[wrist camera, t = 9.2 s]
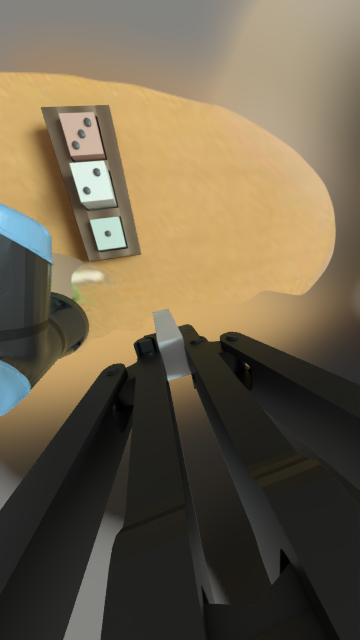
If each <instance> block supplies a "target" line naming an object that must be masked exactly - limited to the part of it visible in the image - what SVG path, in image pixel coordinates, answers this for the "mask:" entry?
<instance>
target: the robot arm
mask: <svg viewBox="0 0 360 640" xmlns="http://www.w3.org/2000/svg"><path fill="white" fill-rule="evenodd" d="M52 265H54V262H53V260H52V240H51V236H50V234H49V232H48V231H47V229H46V228H45V227H44V226H43V225H41V224H40V223H38V222H37V221H35V220H34V219H32V218H30V217H28V216H26V215H24V214H22V213H20V212H18V211H16V210H14V209H12V208H10V207H8V206H6V205H4V204H1V203H0V416H2V415H4V414H6V413H7V412H9V411H10V410H11V409H12V408H13V407H15V406H16V405H17V404H18V403H19V402H20V401H21V400H22V399H24V398H25V397H26V396H27V395H28V394H29V392H30V390H31V389H32V388H33V387H34V385H35V384H36V383H37V382H38V381H39V380H40V379H41V378H42V377H43V375H44V374H45V373H46V372H47V371H48V370H49V369H50V368H51V366H52V365H53V364H54V363H55V362H56V361H57V360H58V359H60V358H62V357H65V356H67V355H69V354H71V353H73V352H75V351H76V350H77V349H78V348H79V347H80V346H81V345H82V344H83V342H84V341H85V340H86V338H87V335H88V332H89V323H88V319H87V316H86V314H85V312H84V311H83V309H82V308H81V307H80V306H79V305H78V304H77V303H76V302H75V301H73V300H72V299H70V298H68V297H66V296H64V295H62V294H58V293H54V292H51V277H52ZM153 317H154V323H155V330H156V333H154V334H150V335H146V336H144V337H143V338H141V339H139V340H137V341H136V342H135V343H134V348H135V351H136V354H137V357H138V358H137V362H136V363H135V364H133V365H131V366H129V367H127V368H126V367H125V365H124V364H121V363H120V364H113V365H111V366H109V367H107V368H106V369H104V370H103V371H102V372H101V374H100V375H99V376H98V378H97V379H96V380H95V382H94V383H93V384H92V386H91V387H90V389H89V390H88V391H87V393H86V394H85V395H84V397H83V398H82V400H81V401H80V402H79V403H78V405H77V406H76V408H75V409H74V410H73V412H72V413H71V414H70V416H69V417H68V419H67V420H66V421H65V423H64V424H63V425H62V427H61V428H60V430H59V431H58V432H57V434H56V435H55V436H54V438H53V439H52V440H51V442H50V443H49V445H48V446H47V447H46V449H45V450H44V451H43V453H42V454H41V455H40V457H39V458H38V459H37V461H36V463H35V464H34V465H33V466H32V468H31V469H30V470H29V472H28V473H27V475H26V476H25V477H24V479H23V480H22V481H21V483H20V484H19V485H18V487H17V488H16V489H15V491H14V492H13V494H12V495H11V496H10V498H9V499H8V500H7V502H6V503H5V505H4V506H3V507H2V509H1V510H0V640H63V638H64V635H65V632H66V629H67V626H68V623H69V620H70V617H71V614H72V611H73V608H74V604H75V601H76V598H77V595H78V592H79V589H80V586H81V583H82V580H83V577H84V573H85V570H86V567H87V564H88V561H89V558H90V555H91V552H92V549H93V545H94V542H95V539H96V536H97V533H98V530H99V527H100V524H101V521H102V518H103V515H104V511H105V508H106V505H107V502H108V499H109V496H110V493H111V490H112V487H113V484H114V481H115V477H116V474H117V471H118V468H119V465H120V462H121V459H122V455H123V453H124V449H125V447H126V443H127V440H128V437H129V434H130V431H131V428H132V435H131V447H130V461H129V473H128V486H127V499H126V511H125V520H124V524H123V528H122V529H121V530H120V532H119V533H118V534H117V535H116V538H115V541H114V544H113V547H112V553H111V559H110V565H109V573H108V581H107V589H106V598H105V606H104V615H103V623H102V631H101V640H360V506H359V505H358V504H357V502H355V500H354V499H353V498H352V497H351V496H350V495H349V493H348V492H347V491H346V490H345V489H344V488H343V487H342V485H341V484H340V483H339V482H338V481H337V480H336V479H335V478H334V476H333V475H332V474H330V472H329V471H328V470H327V469H326V468H325V467H324V466H323V465H322V464H320V463H319V462H317V461H316V460H314V459H313V458H307V457H303V456H301V455H300V454H299V453H298V452H297V451H296V450H295V449H294V448H293V446H292V445H291V444H290V442H289V441H288V440H287V439H286V438H285V436H284V435H283V434H282V433H281V431H280V430H279V429H278V428H277V427H276V425H275V424H274V423H273V421H272V420H271V419H270V418H269V416H268V415H267V414H266V413H265V411H266V412H267V413H268V414H270V415H271V416H272V417H273V418H274V419H275V420H277V421H278V422H279V423H280V424H281V425H283V426H284V427H285V428H286V429H288V430H289V431H290V432H291V433H292V434H293V435H295V436H296V437H297V438H298V439H299V440H301V441H302V442H303V443H304V444H305V445H307V446H308V447H309V448H310V449H311V450H313V451H314V452H315V453H316V454H317V455H318V456H320V457H321V458H322V459H323V460H324V461H326V462H327V463H328V464H329V465H330V466H332V467H333V468H334V469H335V470H336V471H338V472H339V473H340V474H341V475H342V476H344V477H345V478H346V479H347V480H348V481H350V482H351V483H352V484H353V485H354V486H355V487H357V488H358V489H359V490H360V385H359V384H357V383H354V382H352V381H350V380H347V379H345V378H343V377H341V376H338V375H336V374H334V373H331V372H329V371H326V370H324V369H322V368H319V367H317V366H315V365H313V364H310V363H308V362H306V361H303V360H301V359H299V358H296V357H294V356H291V355H289V354H287V353H285V352H283V351H280V350H278V349H276V348H273V347H271V346H268V345H266V344H264V343H262V342H259V341H257V340H254V339H252V338H250V337H247V336H245V335H243V334H241V333H237V332H227V333H224V334H222V335H221V336H220V341H216V342H208V340H207V339H206V338H205V337H203V336H199V335H198V333H197V332H196V331H195V329H194V328H193V327H192V326H191V325H188V324H187V325H183V326H179V327H178V326H177V325H176V323H175V321H174V319H173V317H172V315H171V313H170V311H169V309H165V310H161V311H157V312H153ZM245 363H247V364H248V365H249V367H250V368H249V367H247V366H246V364H245ZM190 371H191V373H190ZM189 374H191V375H192V380H193V384H194V389H197V392H198V394H199V397H200V399H201V402H202V404H203V407H204V409H205V412H206V414H207V417H208V419H209V422H210V424H211V427H212V429H213V432H214V434H215V437H216V439H217V442H218V444H219V446H220V449H221V452H222V454H223V456H224V459H225V461H226V464H227V466H228V469H229V471H230V474H231V476H232V479H233V481H234V484H235V486H236V489H237V491H238V494H239V496H240V499H241V501H242V504H243V506H244V509H245V511H246V513H247V516H248V519H249V521H250V523H251V526H252V529H253V531H254V534H255V537H256V540H257V544H258V547H259V550H260V554H261V557H262V560H263V562H264V565H265V568H266V571H267V573H268V576H269V579H270V581H271V584H272V586H271V587H270V588H269V590H268V591H267V592H266V593H265V595H264V596H263V597H262V598H261V600H260V601H259V602H258V603H257V604H255V605H252V606H242V605H241V606H240V605H226V604H215V603H214V598H213V593H212V589H211V584H210V580H209V576H208V571H207V567H206V563H205V559H204V554H203V549H202V545H201V540H200V535H199V530H198V525H197V520H196V515H195V510H194V505H193V500H192V495H191V490H190V485H189V480H188V475H187V470H186V465H185V460H184V455H183V450H182V445H181V440H180V436H179V431H178V426H177V421H176V416H175V411H174V406H173V401H172V396H171V391H170V387H169V382H168V381H169V380H172V379H176V378H179V377H183V376H186V375H189ZM263 409H264V410H265V411H264V410H263Z"/></svg>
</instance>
